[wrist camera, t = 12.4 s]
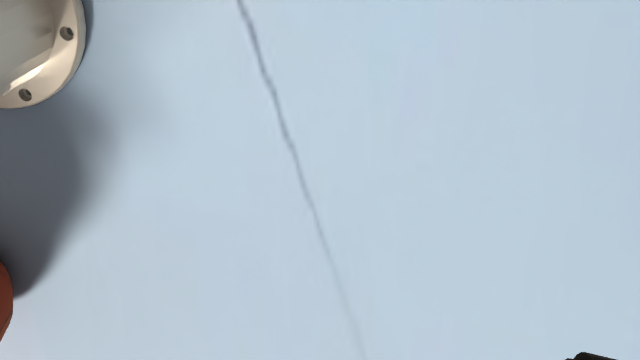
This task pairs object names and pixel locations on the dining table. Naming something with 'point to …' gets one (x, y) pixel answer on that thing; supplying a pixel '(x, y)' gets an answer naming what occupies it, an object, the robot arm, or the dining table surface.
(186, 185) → the dining table surface
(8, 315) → the potted plant
